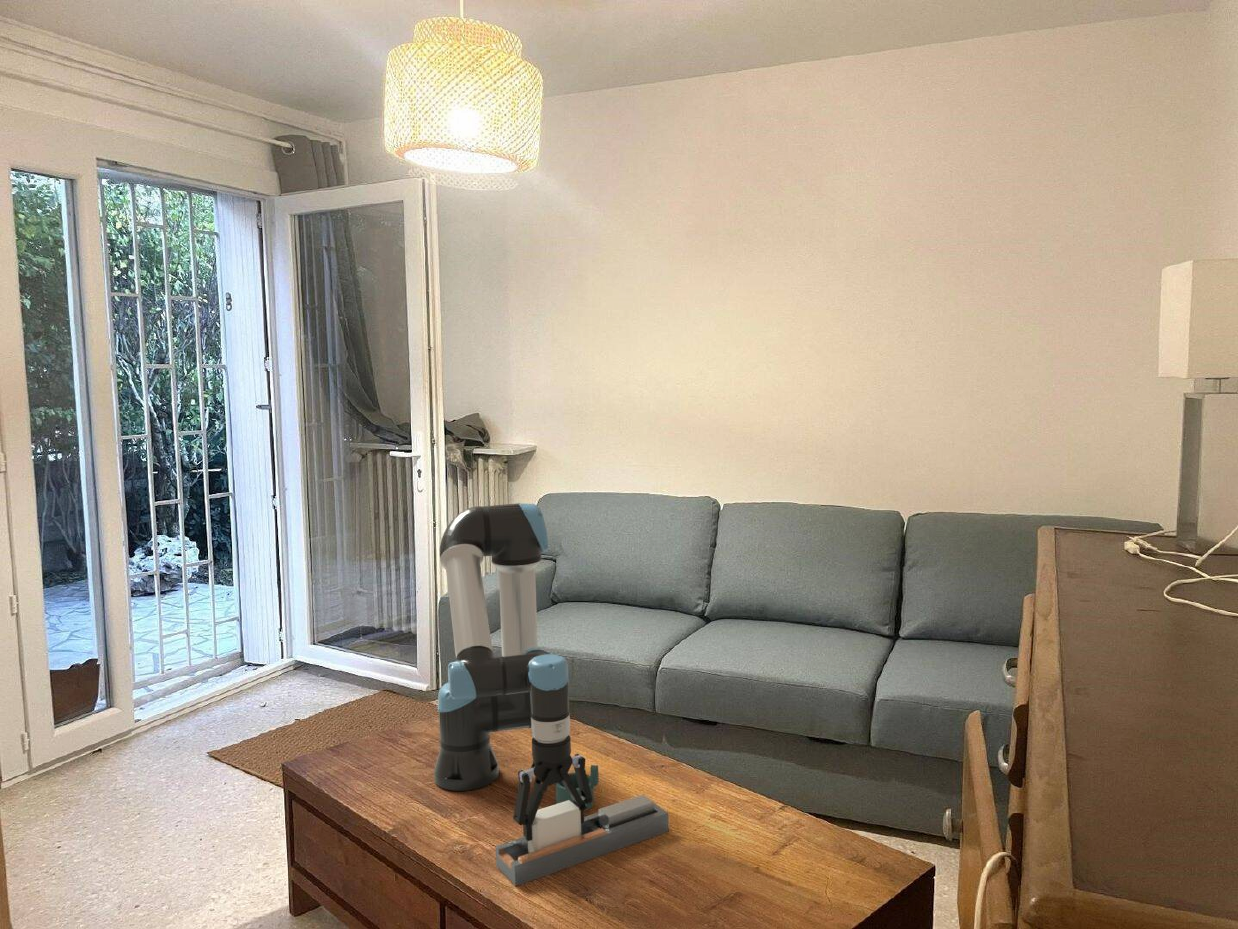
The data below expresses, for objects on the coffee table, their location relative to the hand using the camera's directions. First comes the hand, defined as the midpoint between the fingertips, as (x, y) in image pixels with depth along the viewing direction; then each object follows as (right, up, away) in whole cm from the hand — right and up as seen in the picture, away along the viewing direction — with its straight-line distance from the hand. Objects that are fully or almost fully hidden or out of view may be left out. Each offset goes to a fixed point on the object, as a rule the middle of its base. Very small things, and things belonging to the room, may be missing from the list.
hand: (555, 846), depth 176 cm
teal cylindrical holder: (+3, 0, +23) cm, 23 cm away
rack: (+6, -2, +4) cm, 7 cm away
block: (0, 0, 0) cm, 1 cm away
